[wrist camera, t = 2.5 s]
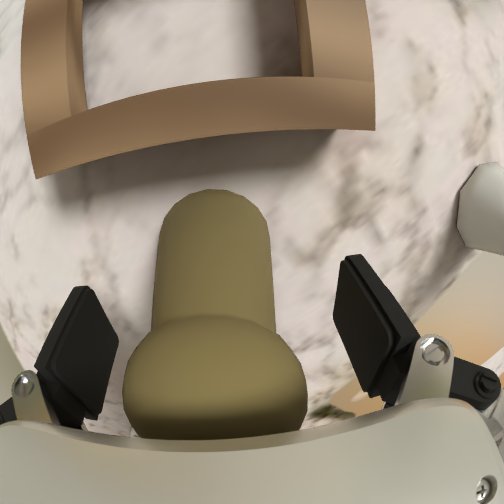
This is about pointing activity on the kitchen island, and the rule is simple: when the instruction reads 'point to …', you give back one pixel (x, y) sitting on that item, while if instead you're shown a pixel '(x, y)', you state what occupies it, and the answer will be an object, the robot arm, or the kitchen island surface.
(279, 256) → the kitchen island surface
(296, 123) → the walnut stand
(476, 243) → the flask
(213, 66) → the kitchen island surface
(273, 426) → the cork
